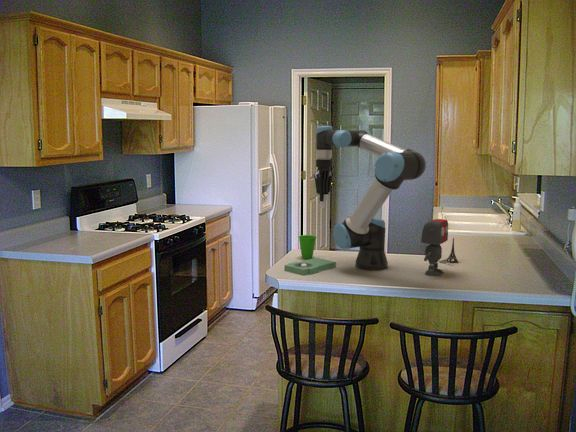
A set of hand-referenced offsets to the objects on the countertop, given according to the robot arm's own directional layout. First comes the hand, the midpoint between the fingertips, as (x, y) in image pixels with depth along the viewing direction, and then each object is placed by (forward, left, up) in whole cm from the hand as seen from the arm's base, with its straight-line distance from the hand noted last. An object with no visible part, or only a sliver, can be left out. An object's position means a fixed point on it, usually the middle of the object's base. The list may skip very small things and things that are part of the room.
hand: (323, 207), depth 272 cm
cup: (+10, 0, -27) cm, 29 cm away
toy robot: (-50, -19, -27) cm, 60 cm away
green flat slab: (-6, +15, -27) cm, 31 cm away
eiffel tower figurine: (-44, -46, -27) cm, 69 cm away
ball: (-6, +19, -25) cm, 32 cm away
